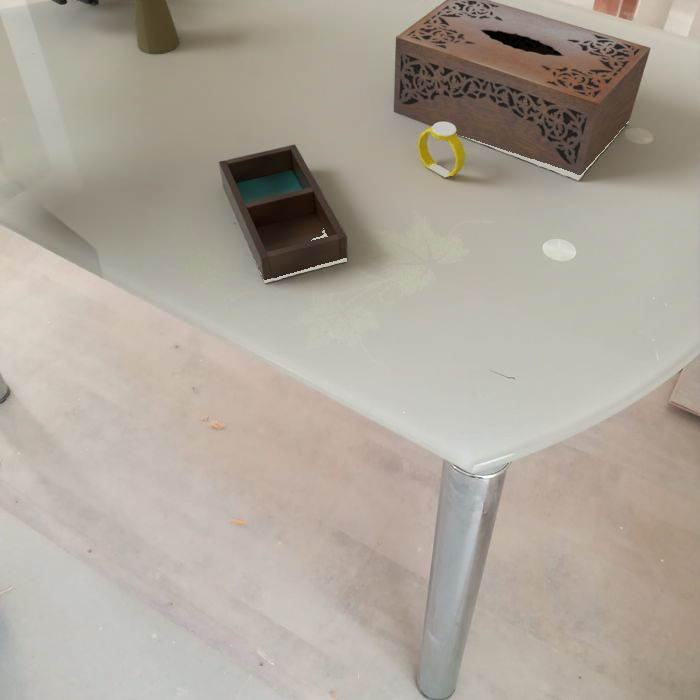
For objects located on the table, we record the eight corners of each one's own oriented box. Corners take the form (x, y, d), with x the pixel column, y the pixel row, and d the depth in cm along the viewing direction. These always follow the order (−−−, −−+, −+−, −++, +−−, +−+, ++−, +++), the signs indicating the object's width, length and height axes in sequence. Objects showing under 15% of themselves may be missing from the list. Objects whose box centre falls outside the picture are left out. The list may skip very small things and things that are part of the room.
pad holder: (264, 284, 79) (260, 259, 77) (223, 186, 90) (218, 161, 87) (347, 262, 81) (346, 236, 79) (297, 169, 92) (295, 144, 89)
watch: (412, 166, 92) (414, 122, 87) (427, 156, 93) (430, 112, 89) (451, 187, 89) (456, 143, 85) (466, 176, 90) (471, 132, 86)
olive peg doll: (158, 29, 115) (141, -48, 107) (188, 40, 113) (173, -38, 104) (128, 46, 112) (109, -32, 103) (158, 58, 109) (141, -21, 101)
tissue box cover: (628, 123, 97) (650, 47, 89) (578, 181, 89) (598, 104, 82) (451, 63, 107) (458, -9, 99) (393, 111, 99) (395, 37, 92)
